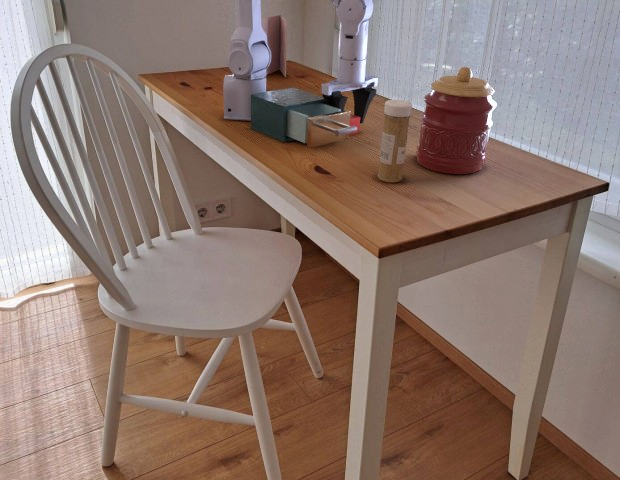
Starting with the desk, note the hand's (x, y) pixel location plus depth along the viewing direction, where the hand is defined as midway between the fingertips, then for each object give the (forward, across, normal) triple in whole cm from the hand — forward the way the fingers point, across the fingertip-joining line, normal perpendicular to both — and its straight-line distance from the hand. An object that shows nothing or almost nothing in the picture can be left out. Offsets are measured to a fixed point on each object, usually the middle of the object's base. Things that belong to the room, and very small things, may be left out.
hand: (347, 124), depth 127 cm
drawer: (+1, -10, -2) cm, 10 cm away
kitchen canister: (+2, +2, -26) cm, 26 cm away
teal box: (+2, -10, +8) cm, 13 cm away
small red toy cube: (+2, 0, 0) cm, 2 cm away
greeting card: (+1, +24, +52) cm, 57 cm away
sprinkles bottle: (+2, -13, -24) cm, 28 cm away
